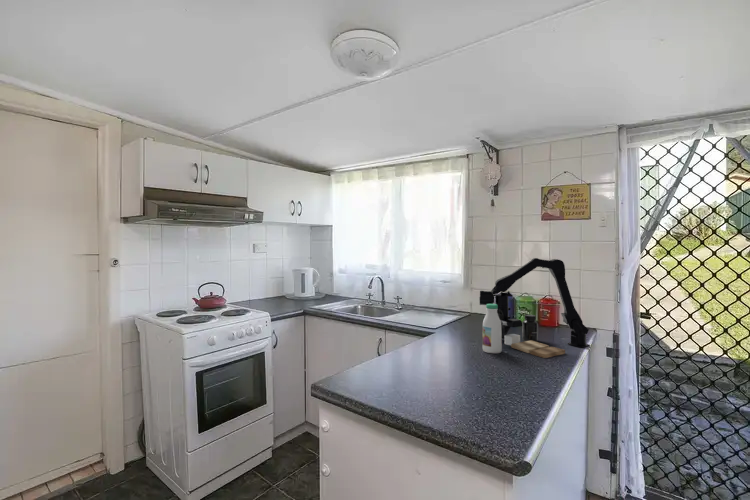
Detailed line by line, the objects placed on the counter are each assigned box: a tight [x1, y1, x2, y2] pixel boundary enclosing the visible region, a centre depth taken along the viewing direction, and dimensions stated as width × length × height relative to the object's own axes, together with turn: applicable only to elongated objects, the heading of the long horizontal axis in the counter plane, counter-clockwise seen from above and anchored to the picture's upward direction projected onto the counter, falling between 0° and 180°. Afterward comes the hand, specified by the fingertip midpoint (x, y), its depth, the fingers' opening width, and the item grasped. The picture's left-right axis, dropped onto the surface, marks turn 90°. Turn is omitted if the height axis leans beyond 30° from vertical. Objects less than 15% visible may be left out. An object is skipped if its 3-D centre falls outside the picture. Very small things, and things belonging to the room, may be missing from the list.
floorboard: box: [529, 346, 566, 359], centre depth 146 cm, size 13×7×2 cm, turn 118°
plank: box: [510, 340, 550, 354], centre depth 154 cm, size 13×9×2 cm
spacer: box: [503, 333, 521, 347], centre depth 162 cm, size 6×4×4 cm, turn 123°
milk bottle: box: [482, 303, 503, 354], centre depth 150 cm, size 8×8×20 cm
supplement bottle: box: [521, 314, 539, 342], centre depth 167 cm, size 7×7×12 cm
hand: (502, 338), depth 167 cm, fingers closed
